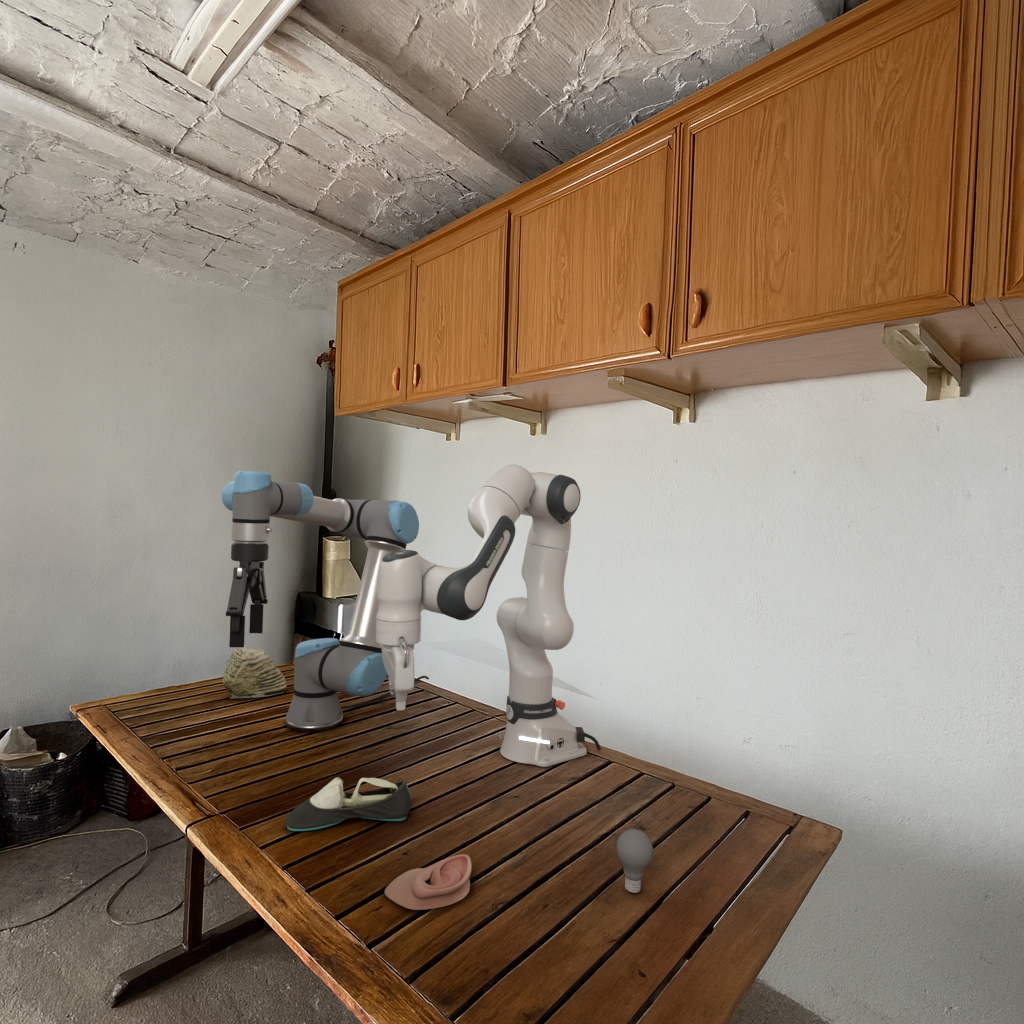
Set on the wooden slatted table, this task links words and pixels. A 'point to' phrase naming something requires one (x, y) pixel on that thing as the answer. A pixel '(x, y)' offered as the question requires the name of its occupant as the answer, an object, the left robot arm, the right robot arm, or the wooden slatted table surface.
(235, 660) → the fossil
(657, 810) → the wooden slatted table surface
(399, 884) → the anatomical model
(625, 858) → the light bulb
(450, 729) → the wooden slatted table surface
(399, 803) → the ballet flat
